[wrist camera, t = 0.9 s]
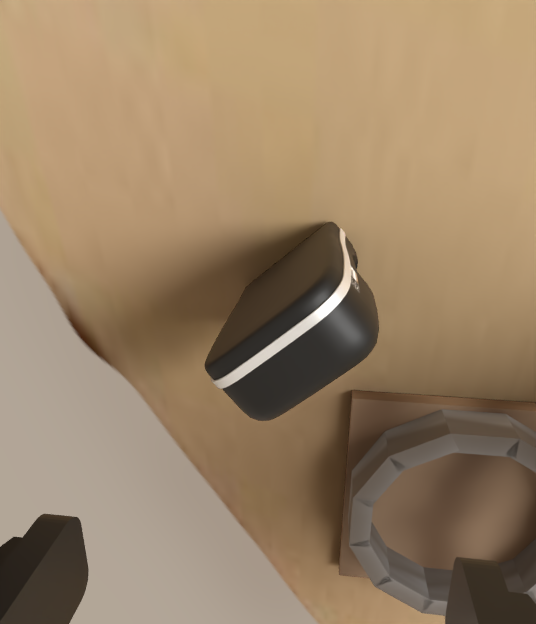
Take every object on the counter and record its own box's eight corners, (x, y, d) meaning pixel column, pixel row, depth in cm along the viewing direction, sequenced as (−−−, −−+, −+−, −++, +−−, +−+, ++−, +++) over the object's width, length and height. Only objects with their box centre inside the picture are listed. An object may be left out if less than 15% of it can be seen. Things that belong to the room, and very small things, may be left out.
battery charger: (281, 337, 31) (253, 451, 20) (240, 289, 30) (187, 382, 19) (377, 267, 29) (401, 355, 18) (334, 214, 28) (334, 273, 17)
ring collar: (594, 406, 30) (625, 441, 27) (546, 585, 35) (567, 633, 31) (351, 390, 31) (353, 421, 28) (338, 563, 36) (339, 606, 33)
